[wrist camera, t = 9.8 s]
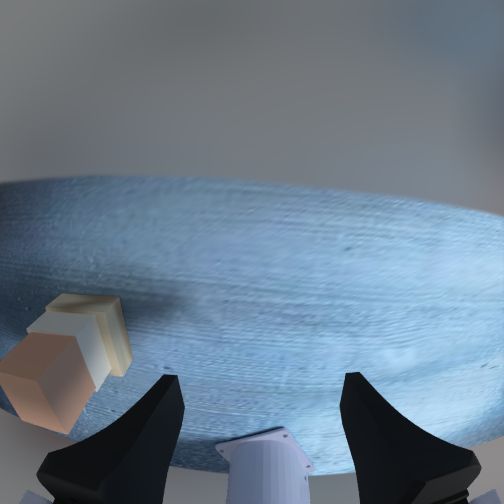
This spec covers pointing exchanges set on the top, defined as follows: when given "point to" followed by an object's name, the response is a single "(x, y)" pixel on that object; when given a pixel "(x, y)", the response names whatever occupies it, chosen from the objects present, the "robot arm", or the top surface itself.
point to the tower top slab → (78, 339)
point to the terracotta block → (47, 380)
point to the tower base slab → (101, 325)
